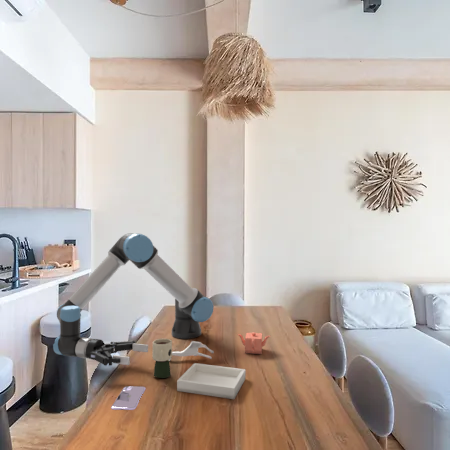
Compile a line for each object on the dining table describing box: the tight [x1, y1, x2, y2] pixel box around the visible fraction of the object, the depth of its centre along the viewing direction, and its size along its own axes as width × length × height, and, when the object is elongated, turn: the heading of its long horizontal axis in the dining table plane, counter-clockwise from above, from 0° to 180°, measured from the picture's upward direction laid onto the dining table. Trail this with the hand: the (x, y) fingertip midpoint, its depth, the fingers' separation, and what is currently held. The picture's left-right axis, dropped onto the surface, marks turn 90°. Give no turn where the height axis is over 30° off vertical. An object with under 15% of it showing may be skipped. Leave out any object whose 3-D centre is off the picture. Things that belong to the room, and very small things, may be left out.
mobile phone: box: [110, 385, 146, 411], centre depth 117 cm, size 8×1×15 cm
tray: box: [176, 362, 247, 400], centre depth 127 cm, size 16×20×4 cm
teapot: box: [236, 331, 271, 355], centre depth 161 cm, size 12×15×8 cm
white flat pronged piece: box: [169, 340, 215, 362], centre depth 151 cm, size 2×11×18 cm
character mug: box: [152, 338, 173, 379], centre depth 134 cm, size 11×7×13 cm, turn 8°
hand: (138, 354), depth 137 cm, fingers open, 13 cm apart
